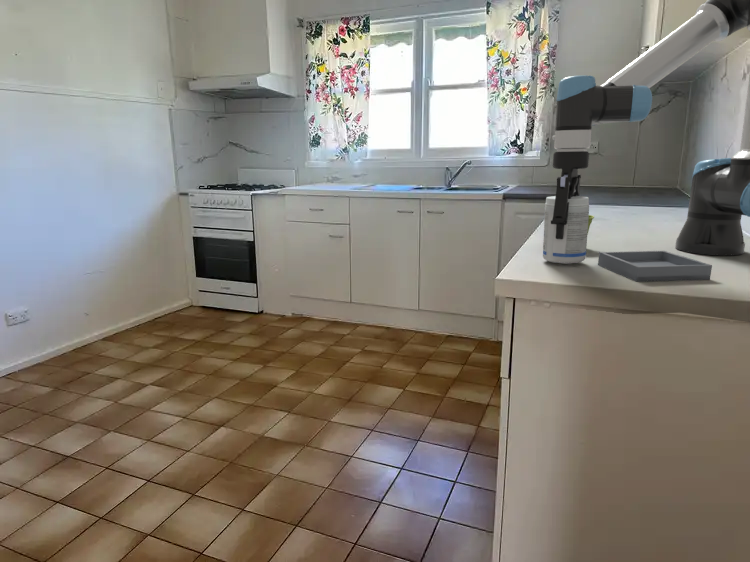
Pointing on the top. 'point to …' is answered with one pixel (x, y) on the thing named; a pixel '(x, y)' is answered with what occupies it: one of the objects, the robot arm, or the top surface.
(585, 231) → the supplement tub
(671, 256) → the tray
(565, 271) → the top surface
